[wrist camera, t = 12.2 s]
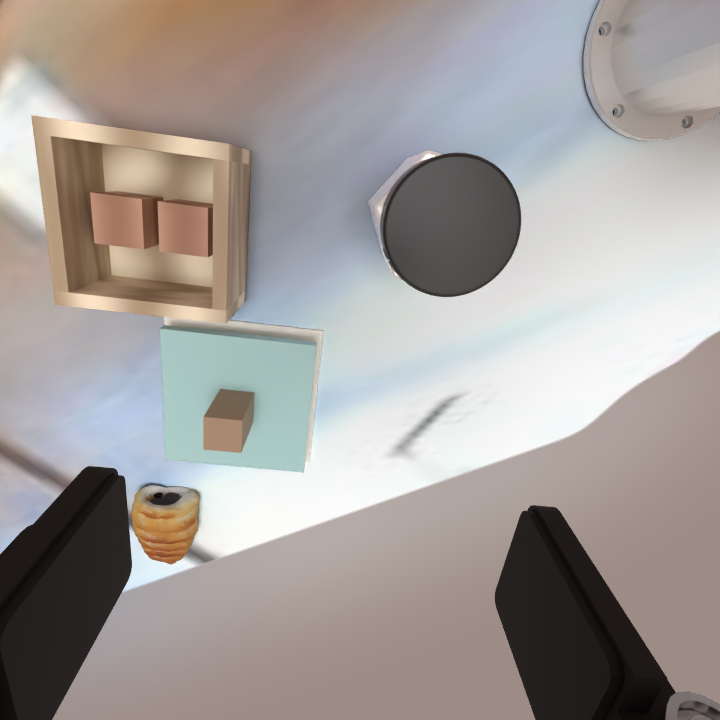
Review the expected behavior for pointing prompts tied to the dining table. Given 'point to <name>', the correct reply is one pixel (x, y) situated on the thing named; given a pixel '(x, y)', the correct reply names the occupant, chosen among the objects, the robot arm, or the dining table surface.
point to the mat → (269, 332)
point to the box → (144, 220)
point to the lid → (236, 398)
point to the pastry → (165, 521)
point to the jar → (446, 222)
